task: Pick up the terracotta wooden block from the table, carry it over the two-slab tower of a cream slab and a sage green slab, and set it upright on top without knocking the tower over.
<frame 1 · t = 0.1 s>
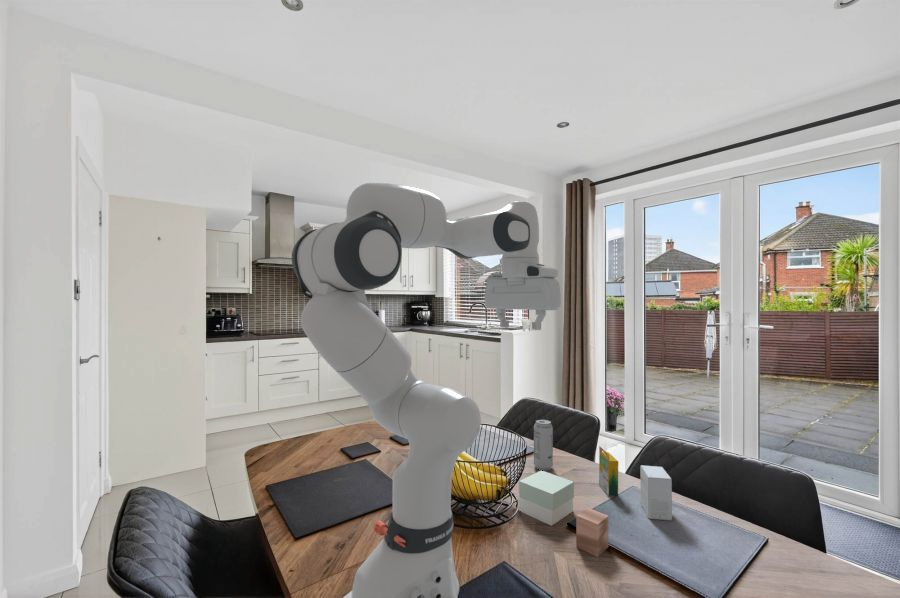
hand: (520, 328, 100), 48 cm above the table, tool pointing down, fingers open, 8 cm apart
tower base block: (545, 512, 108), on the table, touching tower top block
terracotta block: (592, 547, 92), on the table
crayon box: (608, 491, 120), on the table
small box: (655, 512, 107), on the table
energy drink can: (543, 468, 135), on the table
tower top block: (546, 496, 108), point 4 cm above the table, touching tower base block
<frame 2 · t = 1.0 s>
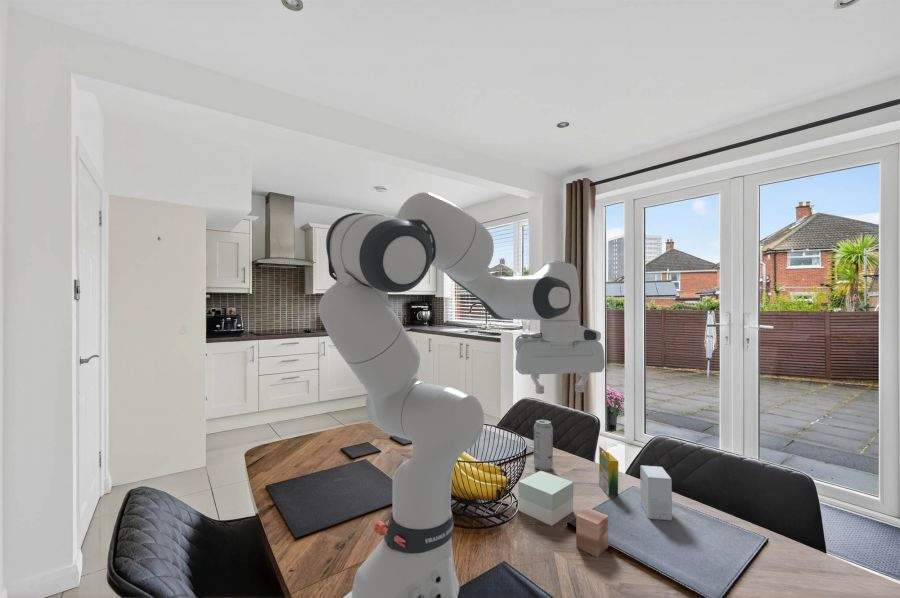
hand: (559, 392, 96), 34 cm above the table, tool pointing down, fingers open, 8 cm apart
tower base block: (545, 512, 108), on the table
tower top block: (546, 497, 108), point 4 cm above the table
everything else where it was.
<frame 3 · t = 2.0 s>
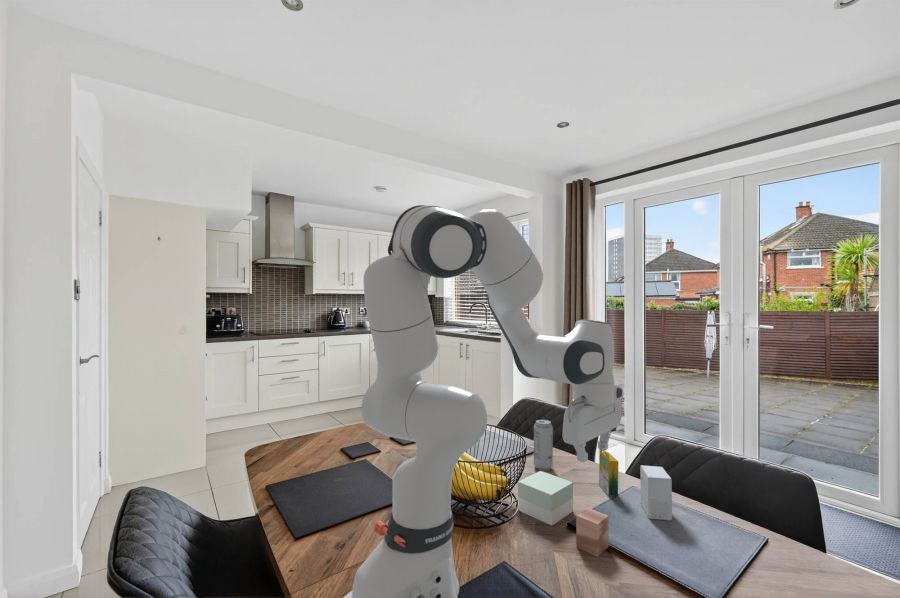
hand: (593, 454, 92), 20 cm above the table, tool pointing down, fingers open, 8 cm apart
tower base block: (545, 512, 108), on the table, touching tower top block
tower top block: (545, 497, 108), point 4 cm above the table, touching tower base block
everything else where it was.
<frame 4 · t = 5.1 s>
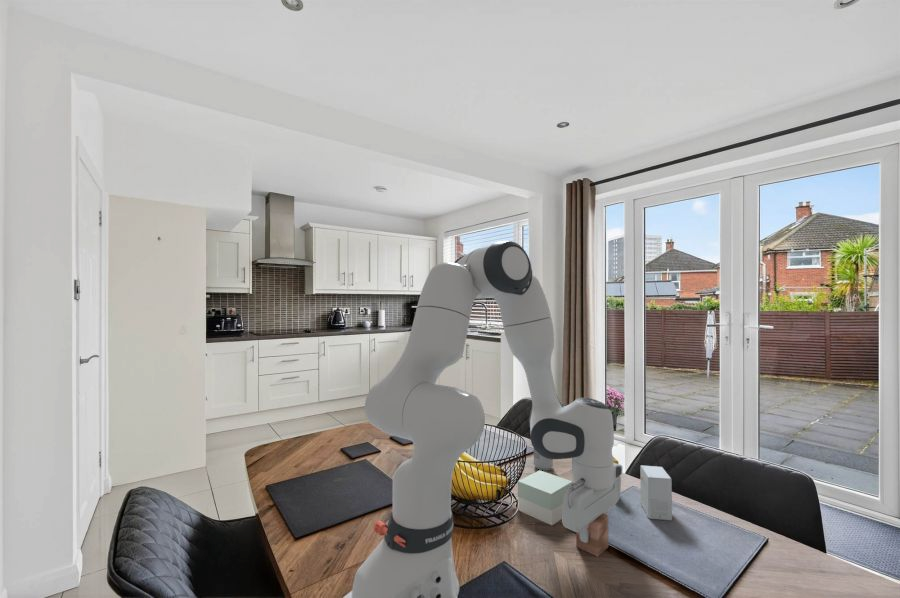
hand: (592, 534, 92), 3 cm above the table, tool pointing down, fingers closed on terracotta block, 5 cm apart
terracotta block: (592, 546, 92), on the table, touching gripper
everything else where it was.
when the fingers open (12 cm above the table, at t = 11.2 s): terracotta block drops 2 cm, resting on tower top block.
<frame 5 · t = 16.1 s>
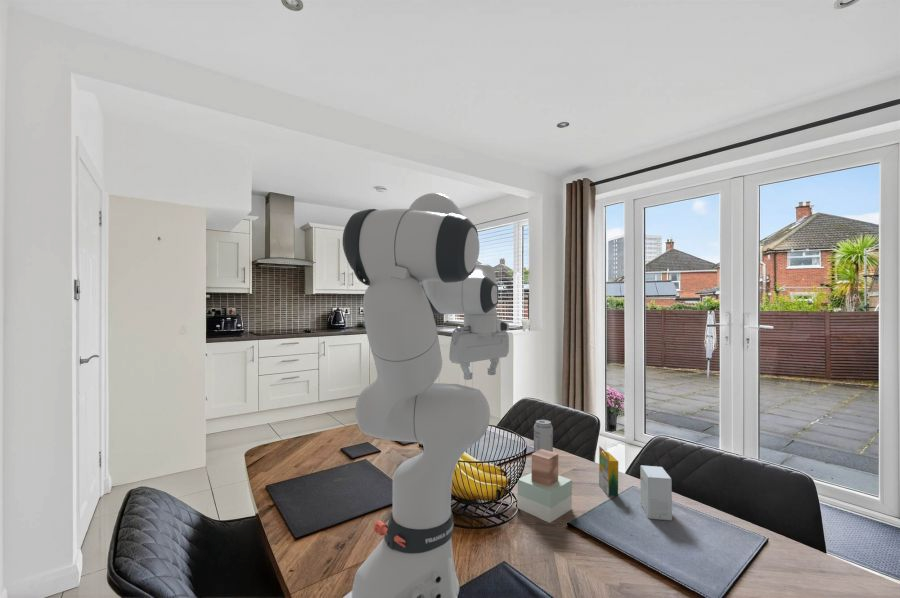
hand: (480, 377, 111), 34 cm above the table, tool pointing down, fingers open, 8 cm apart
tower base block: (544, 510, 109), on the table, touching tower top block
terracotta block: (544, 480, 109), point 8 cm above the table, touching tower top block
tower top block: (544, 494, 109), point 4 cm above the table, touching terracotta block, tower base block
everything else where it was.
at the end: terracotta block 0.6 cm off-centre on the tower top block, point 4.0 cm above the tower top block's base; tower top block 0.1 cm off-centre on the tower base block, point 4.0 cm above the tower base block's base; terracotta block tilted 0° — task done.
